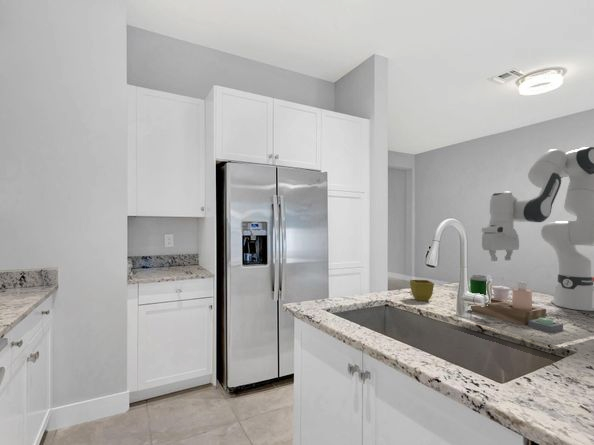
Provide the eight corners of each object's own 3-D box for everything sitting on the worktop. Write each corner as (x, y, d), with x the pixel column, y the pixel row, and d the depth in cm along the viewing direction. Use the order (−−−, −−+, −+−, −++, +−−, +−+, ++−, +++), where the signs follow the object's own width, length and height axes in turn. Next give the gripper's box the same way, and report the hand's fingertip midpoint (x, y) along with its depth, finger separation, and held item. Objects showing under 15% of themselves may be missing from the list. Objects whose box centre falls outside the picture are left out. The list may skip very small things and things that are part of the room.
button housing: (540, 327, 116) (540, 318, 116) (563, 332, 109) (563, 324, 109) (528, 329, 113) (528, 320, 113) (551, 335, 106) (551, 326, 106)
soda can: (490, 303, 152) (490, 277, 152) (473, 302, 154) (473, 276, 154) (484, 299, 160) (484, 275, 160) (468, 298, 161) (468, 274, 161)
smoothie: (509, 312, 136) (510, 278, 136) (491, 310, 139) (492, 277, 139) (509, 309, 141) (509, 276, 141) (492, 307, 145) (492, 275, 145)
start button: (542, 327, 114) (542, 317, 114) (555, 330, 110) (555, 320, 110) (535, 328, 112) (535, 318, 112) (548, 332, 108) (548, 321, 108)
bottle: (518, 316, 125) (518, 280, 126) (535, 320, 120) (535, 282, 120) (508, 318, 123) (509, 281, 123) (525, 322, 117) (525, 283, 118)
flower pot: (434, 302, 152) (434, 283, 152) (415, 301, 152) (415, 282, 153) (427, 298, 161) (427, 279, 161) (409, 297, 161) (409, 279, 161)
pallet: (488, 309, 140) (488, 296, 140) (545, 323, 120) (546, 308, 120) (468, 312, 134) (468, 299, 134) (524, 327, 114) (524, 312, 114)
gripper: (508, 228, 148) (508, 259, 148) (479, 228, 139) (478, 260, 139) (523, 229, 142) (523, 260, 142) (493, 228, 133) (493, 262, 133)
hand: (501, 260), depth 140 cm, fingers open, 8 cm apart
